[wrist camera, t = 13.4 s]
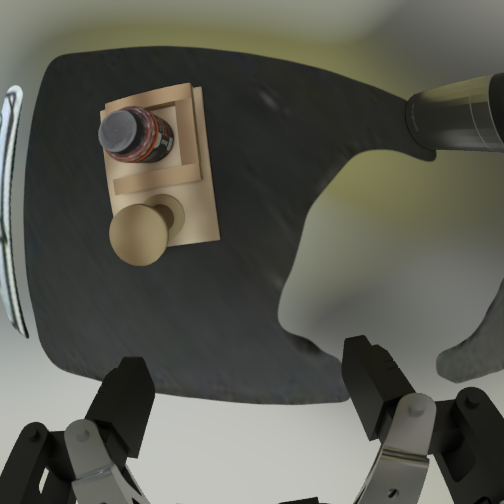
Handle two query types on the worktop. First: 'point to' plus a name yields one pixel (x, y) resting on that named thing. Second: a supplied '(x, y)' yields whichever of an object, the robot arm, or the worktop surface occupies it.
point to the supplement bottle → (135, 135)
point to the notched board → (171, 163)
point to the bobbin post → (146, 229)
